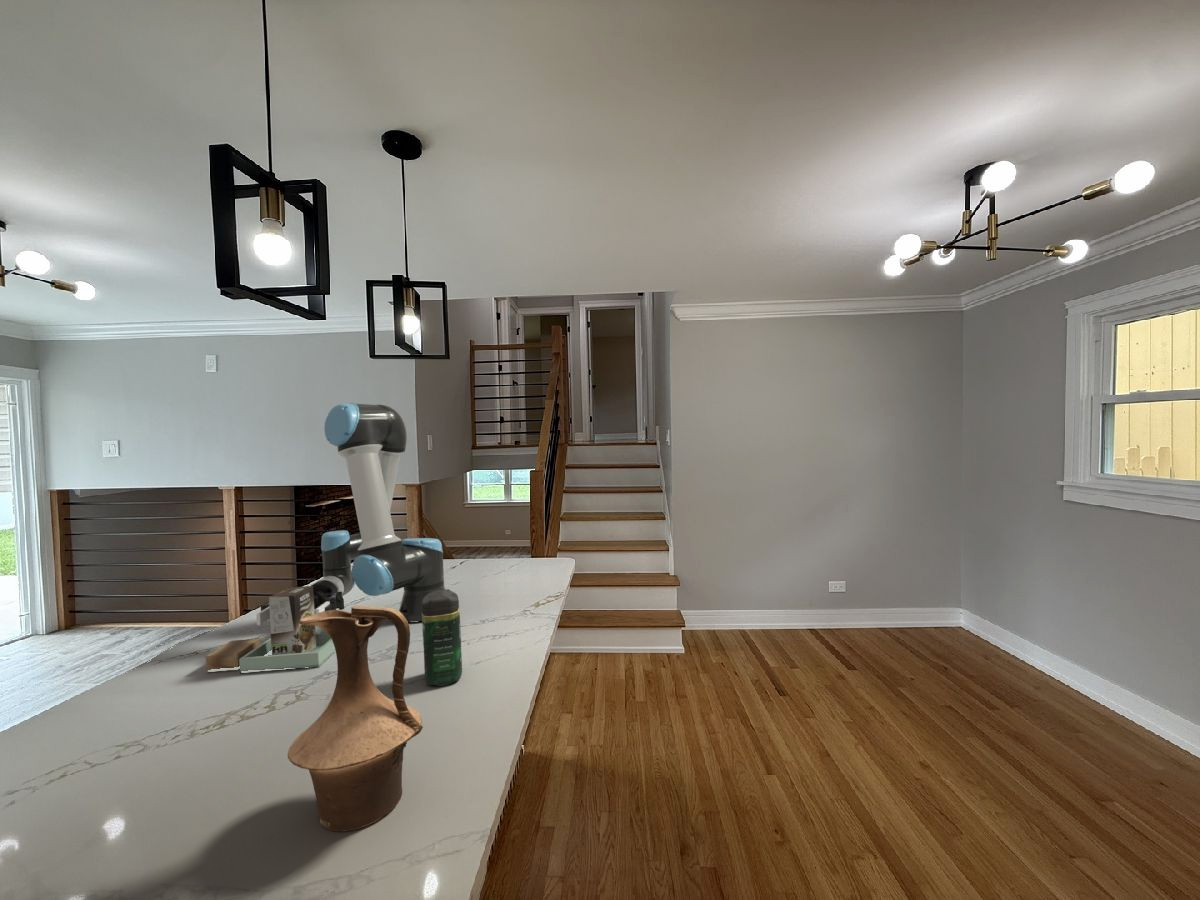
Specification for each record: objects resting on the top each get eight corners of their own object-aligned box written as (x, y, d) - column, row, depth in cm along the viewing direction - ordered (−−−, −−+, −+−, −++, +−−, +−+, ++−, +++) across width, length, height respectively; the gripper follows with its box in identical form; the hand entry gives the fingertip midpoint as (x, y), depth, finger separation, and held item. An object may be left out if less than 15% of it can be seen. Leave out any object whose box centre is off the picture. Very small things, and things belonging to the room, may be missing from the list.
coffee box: (298, 662, 128) (294, 595, 128) (271, 664, 128) (267, 596, 128) (317, 648, 137) (314, 585, 137) (292, 649, 137) (288, 586, 137)
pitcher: (441, 764, 85) (431, 587, 84) (406, 845, 68) (393, 624, 67) (328, 772, 84) (317, 594, 84) (263, 856, 67) (249, 633, 67)
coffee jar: (463, 683, 113) (459, 596, 113) (424, 690, 111) (419, 601, 111) (462, 665, 123) (457, 584, 122) (426, 671, 120) (421, 589, 120)
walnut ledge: (261, 654, 137) (260, 638, 137) (238, 670, 127) (237, 653, 127) (232, 656, 136) (231, 640, 136) (206, 673, 126) (205, 656, 126)
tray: (343, 644, 141) (342, 631, 140) (319, 667, 126) (318, 652, 126) (273, 650, 139) (272, 636, 139) (240, 674, 125) (239, 659, 124)
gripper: (371, 602, 152) (342, 628, 131) (278, 609, 150) (234, 636, 129) (369, 576, 152) (340, 597, 131) (277, 583, 150) (232, 605, 129)
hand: (288, 617), depth 130 cm, fingers open, 13 cm apart
